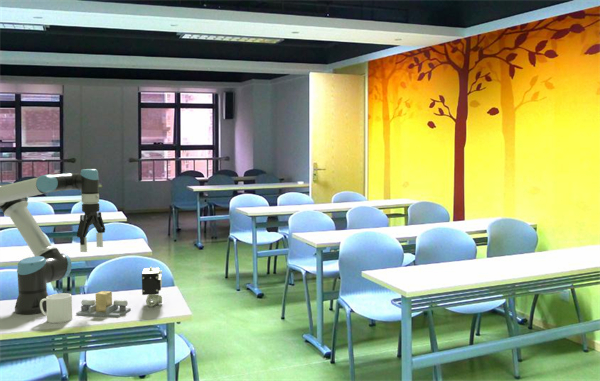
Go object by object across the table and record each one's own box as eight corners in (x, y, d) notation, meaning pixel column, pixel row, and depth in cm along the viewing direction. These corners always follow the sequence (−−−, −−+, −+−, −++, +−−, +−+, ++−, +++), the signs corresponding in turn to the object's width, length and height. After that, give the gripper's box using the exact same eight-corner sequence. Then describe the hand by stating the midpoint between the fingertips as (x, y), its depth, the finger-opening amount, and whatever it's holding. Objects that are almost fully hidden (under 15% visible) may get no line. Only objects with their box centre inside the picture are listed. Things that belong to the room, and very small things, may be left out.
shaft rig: (76, 315, 258) (75, 302, 257) (89, 308, 269) (89, 296, 268) (118, 317, 254) (118, 304, 254) (130, 310, 265) (130, 298, 264)
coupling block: (96, 311, 259) (95, 293, 259) (101, 308, 264) (101, 291, 264) (106, 312, 258) (106, 294, 258) (112, 309, 263) (111, 291, 263)
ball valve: (161, 309, 266) (160, 270, 265) (142, 310, 264) (141, 271, 263) (163, 299, 284) (162, 262, 282) (145, 300, 282) (144, 263, 281)
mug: (70, 315, 258) (69, 292, 257) (74, 321, 249) (73, 297, 248) (39, 319, 252) (38, 295, 251) (41, 325, 243) (40, 301, 242)
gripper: (82, 205, 255) (84, 254, 257) (112, 200, 280) (113, 245, 281) (67, 205, 257) (68, 253, 258) (97, 200, 281) (98, 244, 283)
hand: (91, 249), depth 270 cm, fingers open, 13 cm apart
